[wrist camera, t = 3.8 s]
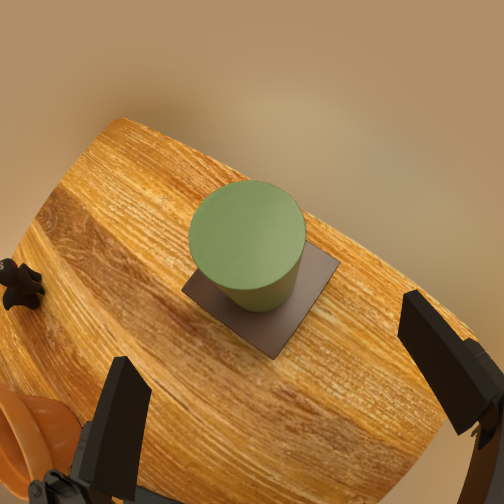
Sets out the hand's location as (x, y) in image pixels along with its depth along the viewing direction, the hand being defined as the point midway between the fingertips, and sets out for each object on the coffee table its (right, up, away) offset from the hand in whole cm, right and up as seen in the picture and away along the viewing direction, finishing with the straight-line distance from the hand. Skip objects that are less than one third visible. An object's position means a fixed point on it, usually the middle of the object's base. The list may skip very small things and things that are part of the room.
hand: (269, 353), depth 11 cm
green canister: (0, +2, +12) cm, 12 cm away
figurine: (-32, -1, +19) cm, 38 cm away
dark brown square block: (0, +1, +16) cm, 16 cm away
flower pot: (-26, -20, +12) cm, 35 cm away
